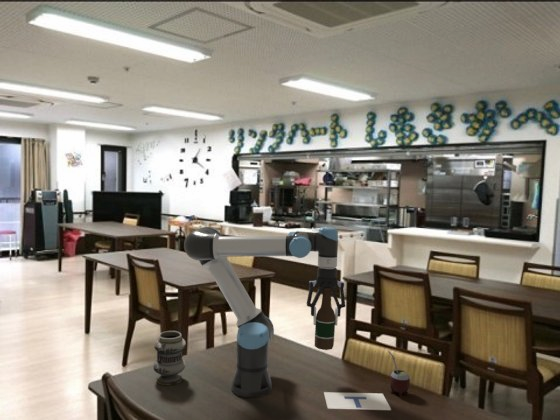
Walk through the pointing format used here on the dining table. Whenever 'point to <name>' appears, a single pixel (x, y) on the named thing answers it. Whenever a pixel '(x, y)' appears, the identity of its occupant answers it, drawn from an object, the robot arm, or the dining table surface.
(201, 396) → the dining table surface
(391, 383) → the mate gourd
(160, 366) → the apothecary jar
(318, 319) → the beer bottle
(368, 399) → the letter card
